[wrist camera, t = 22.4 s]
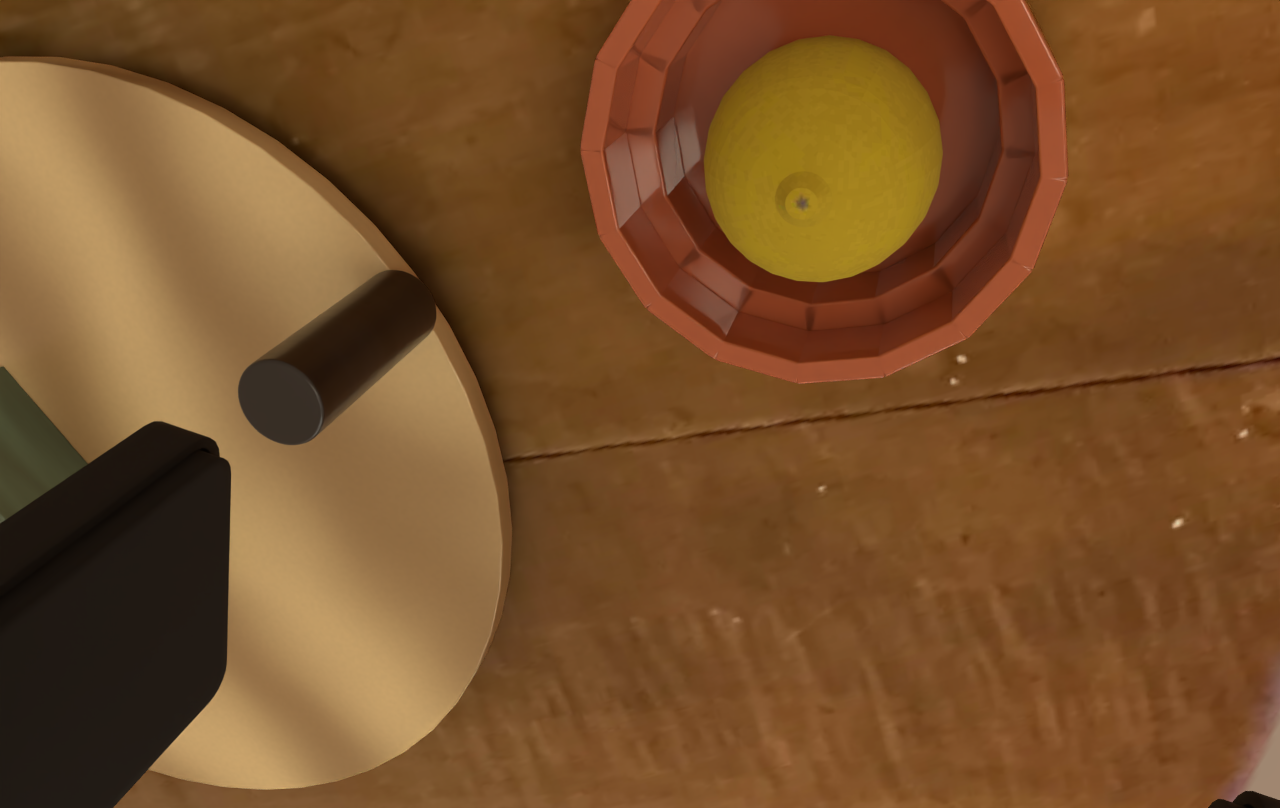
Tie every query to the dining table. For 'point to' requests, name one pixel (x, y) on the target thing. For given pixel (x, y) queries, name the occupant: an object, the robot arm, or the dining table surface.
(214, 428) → the dish rack
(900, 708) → the dining table surface
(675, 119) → the bowl
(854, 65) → the lemon
